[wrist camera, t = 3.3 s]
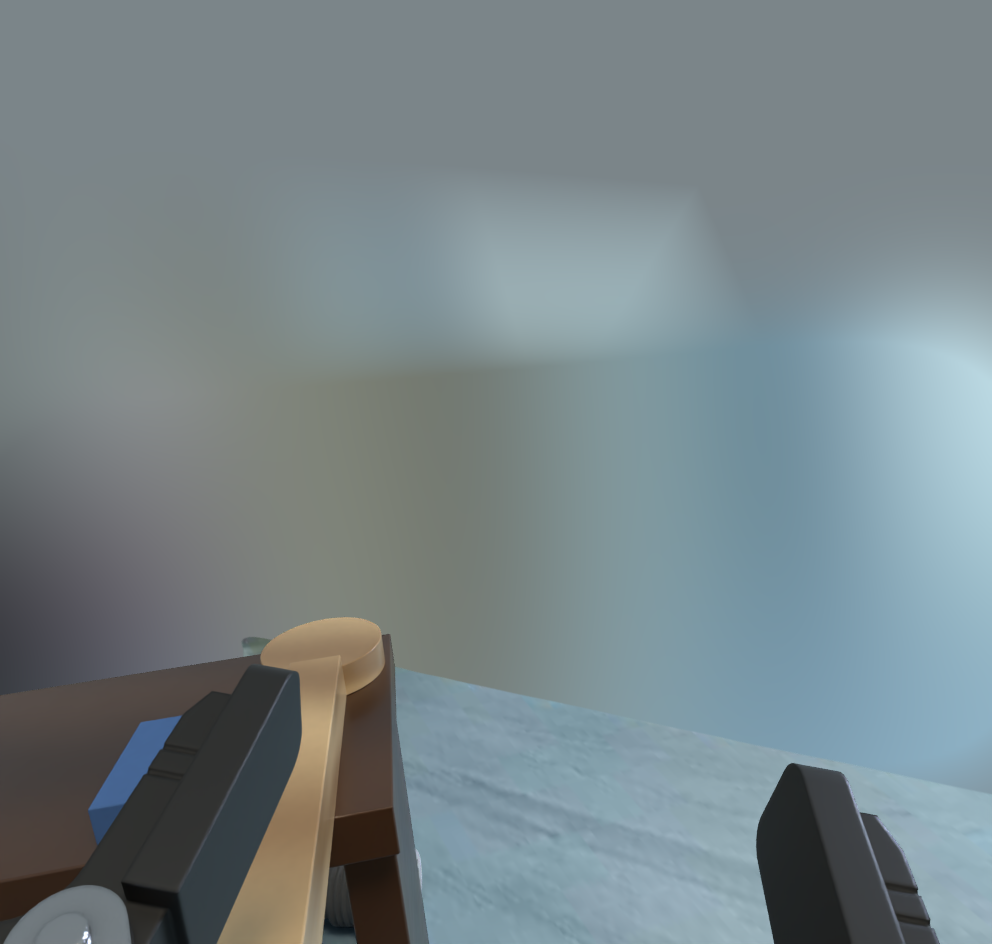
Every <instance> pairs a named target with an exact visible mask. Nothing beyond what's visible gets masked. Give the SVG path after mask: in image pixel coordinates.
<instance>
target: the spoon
mask: <svg viewBox="0 0 992 944" xmlns="http://www.w3.org/2000/svg"><path fill="white" fill-rule="evenodd" d="M260 662H261V665H265V666H271V667H276V668H282V669H287V670H293V671H297V672H298V673H299V677H300V696H301V718H302V738H301V744H300V749H299V753H298V757H297V760H296V763H295V766H294V769H293V771H292V774H291V776H290V778H289V780H288V783H287V785H286V787H285V790H284V792H283V794H282V796H281V799H280V801H279V803H278V806H277V808H276V810H275V812H274V815H273V817H272V819H271V821H270V824H269V826H268V828H267V831H266V833H265V835H264V837H263V840H262V842H261V844H260V846H259V849H258V851H257V853H256V856H255V858H254V860H253V862H252V865H251V867H250V869H249V871H248V874H247V876H246V878H245V881H244V883H243V885H242V887H241V890H240V892H239V894H238V897H237V899H236V901H235V903H234V906H233V908H232V910H231V912H230V915H229V917H228V919H227V922H226V924H225V926H224V928H223V931H222V933H221V935H220V937H219V940H218V942H217V944H322V936H323V926H324V916H325V906H326V896H327V886H328V876H329V866H330V856H331V846H332V836H333V826H334V816H335V806H336V796H337V786H338V776H339V766H340V756H341V746H342V736H343V726H344V716H345V706H346V696H347V695H348V694H351V693H353V692H355V691H357V690H359V689H361V688H363V687H365V686H366V685H368V684H369V683H371V682H372V681H373V680H374V679H375V678H376V677H377V676H378V675H379V674H380V673H381V671H382V670H383V668H384V665H385V655H384V648H383V641H382V634H381V630H380V628H379V627H378V626H377V625H375V624H374V623H372V622H370V621H368V620H365V619H360V618H349V617H344V618H343V617H342V618H330V619H323V620H319V621H314V622H310V623H306V624H303V625H300V626H297V627H295V628H292V629H290V630H288V631H286V632H284V633H282V634H280V635H279V636H277V637H276V638H274V639H273V640H271V641H270V642H269V643H268V644H267V645H266V646H265V647H264V649H263V650H262V652H261V656H260Z"/></svg>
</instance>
